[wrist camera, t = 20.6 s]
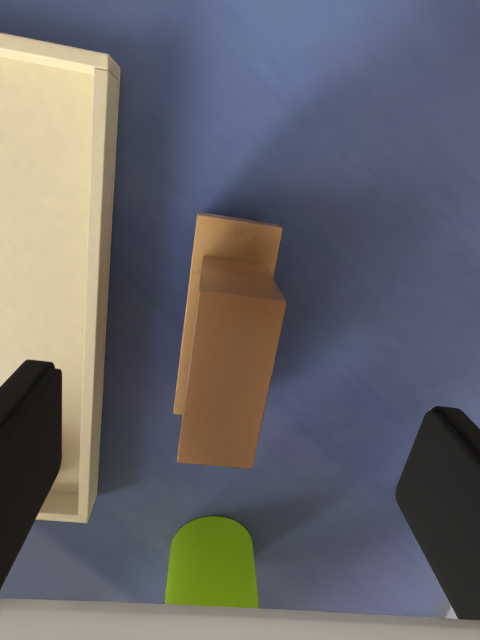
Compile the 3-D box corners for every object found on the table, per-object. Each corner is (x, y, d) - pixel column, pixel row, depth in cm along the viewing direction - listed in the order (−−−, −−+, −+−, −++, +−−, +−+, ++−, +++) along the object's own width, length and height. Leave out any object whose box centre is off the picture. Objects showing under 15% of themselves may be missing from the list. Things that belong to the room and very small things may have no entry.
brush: (177, 386, 25) (158, 498, 16) (199, 208, 21) (190, 232, 13) (242, 393, 25) (257, 506, 17) (273, 220, 22) (313, 251, 13)
